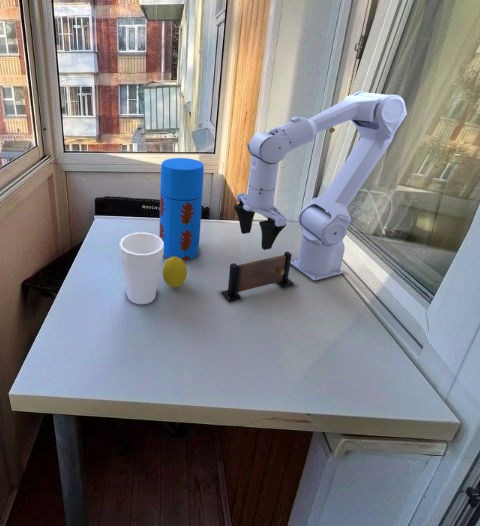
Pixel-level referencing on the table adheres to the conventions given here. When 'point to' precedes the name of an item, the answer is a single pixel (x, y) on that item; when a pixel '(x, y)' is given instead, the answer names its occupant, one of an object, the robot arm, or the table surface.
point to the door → (260, 273)
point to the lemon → (174, 272)
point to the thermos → (181, 206)
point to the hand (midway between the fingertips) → (255, 240)
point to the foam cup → (141, 265)
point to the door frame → (231, 293)
